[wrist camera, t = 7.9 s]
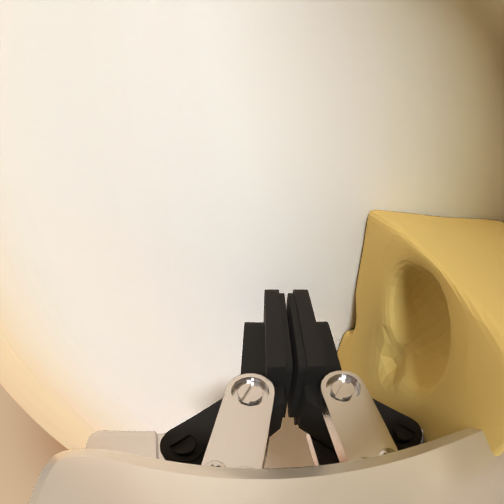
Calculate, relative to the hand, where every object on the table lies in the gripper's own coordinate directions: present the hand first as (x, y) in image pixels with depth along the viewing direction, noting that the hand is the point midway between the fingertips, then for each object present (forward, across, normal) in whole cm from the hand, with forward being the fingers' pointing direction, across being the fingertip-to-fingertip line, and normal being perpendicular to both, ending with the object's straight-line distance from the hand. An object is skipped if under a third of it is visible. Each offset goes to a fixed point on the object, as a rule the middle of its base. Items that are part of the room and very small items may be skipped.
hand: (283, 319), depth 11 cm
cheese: (+2, -8, 0) cm, 8 cm away
